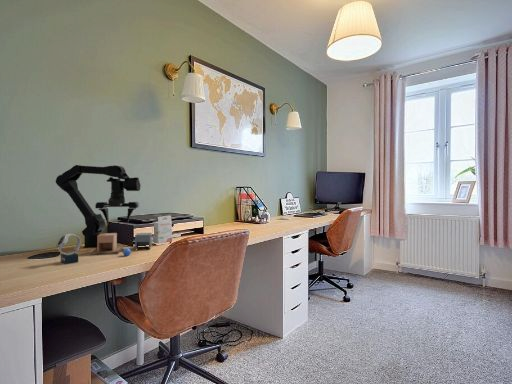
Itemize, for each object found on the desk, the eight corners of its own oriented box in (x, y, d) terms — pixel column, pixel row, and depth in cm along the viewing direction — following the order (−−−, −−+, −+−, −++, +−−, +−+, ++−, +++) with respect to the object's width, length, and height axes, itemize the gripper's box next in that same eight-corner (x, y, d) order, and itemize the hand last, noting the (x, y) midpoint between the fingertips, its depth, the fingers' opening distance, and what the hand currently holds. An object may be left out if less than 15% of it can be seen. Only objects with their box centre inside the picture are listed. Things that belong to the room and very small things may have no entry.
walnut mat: (90, 255, 124) (90, 252, 124) (97, 249, 135) (97, 247, 135) (117, 253, 127) (117, 251, 127) (122, 248, 138) (122, 246, 138)
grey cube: (135, 250, 135) (135, 235, 135) (137, 247, 141) (137, 233, 141) (150, 249, 136) (150, 234, 136) (151, 246, 143) (151, 232, 143)
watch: (54, 262, 112) (54, 234, 112) (77, 258, 118) (77, 232, 118) (59, 265, 108) (59, 236, 108) (83, 261, 114) (83, 233, 114)
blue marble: (122, 256, 122) (122, 249, 122) (123, 255, 125) (123, 247, 125) (130, 256, 123) (130, 248, 123) (131, 254, 126) (131, 247, 126)
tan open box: (97, 251, 127) (97, 235, 127) (101, 248, 133) (101, 233, 133) (113, 250, 129) (113, 235, 129) (116, 247, 135) (116, 232, 135)
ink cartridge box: (166, 242, 155) (166, 214, 155) (172, 243, 152) (172, 215, 152) (152, 244, 148) (152, 216, 148) (158, 245, 145) (158, 216, 145)
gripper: (91, 191, 133) (91, 225, 133) (134, 191, 137) (134, 224, 137) (98, 190, 143) (99, 222, 144) (138, 191, 148) (138, 221, 148)
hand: (117, 222), depth 143 cm, fingers open, 9 cm apart
